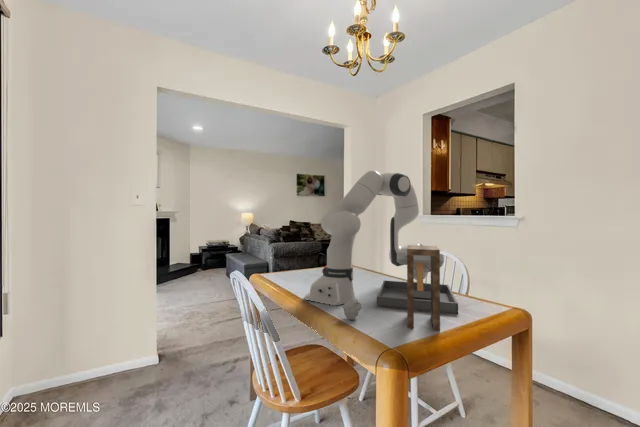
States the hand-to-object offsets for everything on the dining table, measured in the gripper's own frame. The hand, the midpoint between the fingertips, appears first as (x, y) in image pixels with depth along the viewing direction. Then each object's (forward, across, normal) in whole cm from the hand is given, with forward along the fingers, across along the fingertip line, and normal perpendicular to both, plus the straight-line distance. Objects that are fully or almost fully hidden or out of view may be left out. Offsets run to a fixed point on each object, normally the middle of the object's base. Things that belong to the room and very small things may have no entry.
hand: (420, 252), depth 124 cm
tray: (-11, -2, +18) cm, 21 cm away
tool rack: (+13, 0, +32) cm, 34 cm away
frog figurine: (+16, -24, +34) cm, 45 cm away
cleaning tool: (-10, 0, +8) cm, 13 cm away
